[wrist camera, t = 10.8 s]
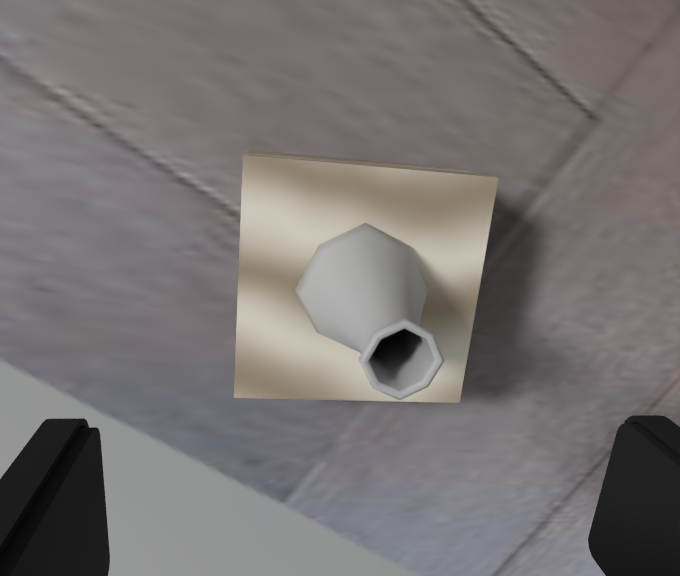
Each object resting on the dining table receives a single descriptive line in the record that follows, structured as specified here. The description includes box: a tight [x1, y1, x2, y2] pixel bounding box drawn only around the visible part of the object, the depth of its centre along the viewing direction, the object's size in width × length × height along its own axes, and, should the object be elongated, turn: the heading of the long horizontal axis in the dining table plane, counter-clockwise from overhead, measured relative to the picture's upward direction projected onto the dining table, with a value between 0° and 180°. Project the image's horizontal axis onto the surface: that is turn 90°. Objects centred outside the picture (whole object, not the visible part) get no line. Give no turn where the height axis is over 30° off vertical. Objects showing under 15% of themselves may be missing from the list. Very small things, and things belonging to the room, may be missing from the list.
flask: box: [295, 223, 445, 400], centre depth 25 cm, size 7×7×10 cm
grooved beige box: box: [234, 150, 499, 403], centre depth 33 cm, size 14×14×7 cm
